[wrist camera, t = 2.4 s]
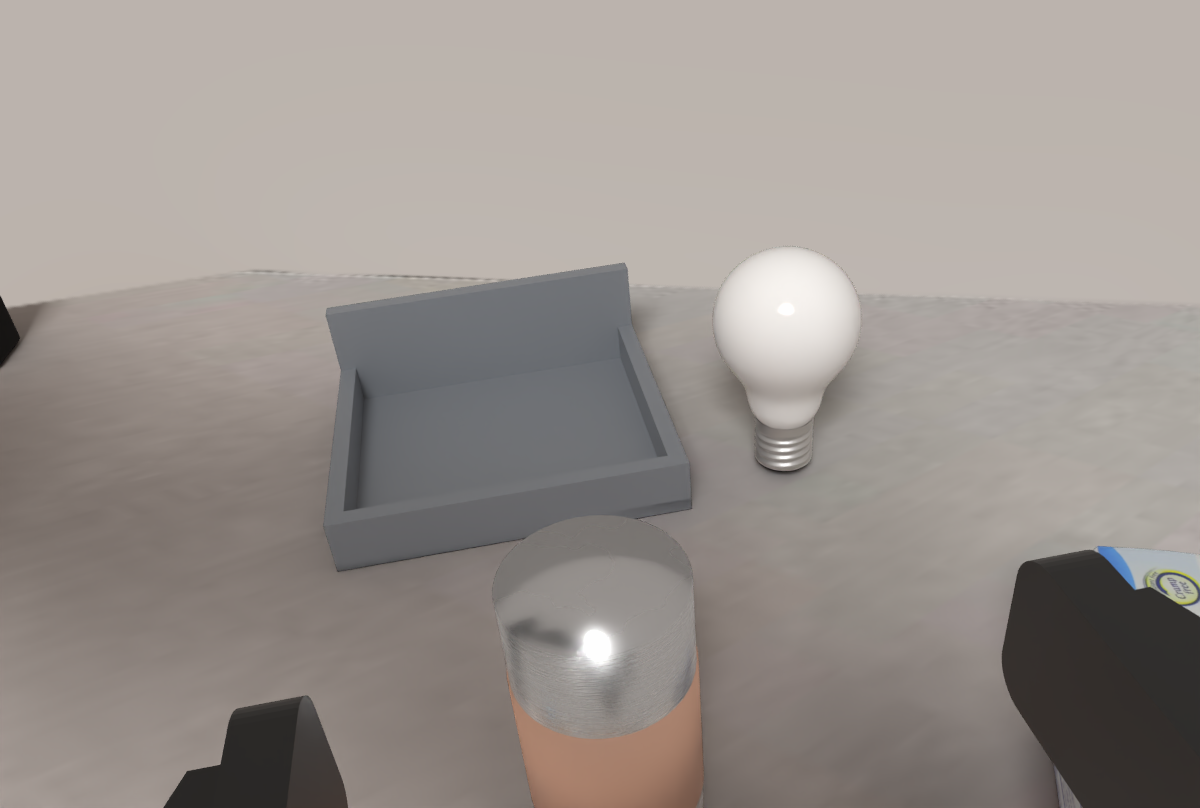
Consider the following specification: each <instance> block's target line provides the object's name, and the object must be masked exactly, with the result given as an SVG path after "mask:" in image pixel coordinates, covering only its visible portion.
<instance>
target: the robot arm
mask: <svg viewBox="0 0 1200 808" xmlns="http://www.w3.org/2000/svg"><path fill="white" fill-rule="evenodd" d="M1002 668H1003V673H1004V678H1005V682H1006V685H1007V688H1008V691H1009V693H1010V696H1011V698H1012V700H1013V702H1014V704H1015V706H1016V707H1017V709H1018V711H1019V712H1020V714H1021V715H1022V717H1023V718H1024V720H1025V721H1026V723H1027V724H1028V726H1029V727H1030V729H1031V730H1032V732H1033V733H1034V735H1035V736H1036V738H1037V739H1038V741H1039V742H1040V744H1041V746H1042V747H1043V749H1044V750H1045V752H1046V753H1047V755H1048V756H1049V758H1050V759H1051V761H1052V762H1053V764H1054V765H1055V767H1056V768H1057V770H1058V771H1059V773H1060V774H1061V776H1062V777H1063V779H1064V780H1065V782H1066V783H1067V785H1068V786H1069V788H1070V789H1071V791H1072V792H1073V794H1074V795H1075V797H1076V798H1077V800H1078V801H1079V803H1080V804H1081V806H1082V807H1083V808H1200V617H1199V616H1198V615H1196V614H1195V613H1193V612H1191V611H1190V610H1188V609H1186V608H1185V607H1183V606H1181V605H1180V604H1178V603H1177V602H1175V601H1173V600H1172V599H1170V598H1168V597H1167V596H1165V595H1163V594H1162V593H1160V592H1158V591H1157V590H1155V589H1153V588H1152V587H1146V588H1141V589H1136V590H1134V589H1133V587H1132V586H1131V585H1130V584H1129V583H1128V582H1127V581H1126V580H1125V579H1124V577H1123V576H1122V575H1121V574H1120V573H1119V572H1118V571H1117V570H1116V569H1115V568H1114V566H1113V565H1112V564H1111V563H1110V562H1109V561H1108V560H1107V559H1106V558H1105V557H1104V556H1102V555H1101V554H1100V553H1098V552H1096V551H1093V550H1084V551H1079V552H1074V553H1068V554H1063V555H1058V556H1052V557H1047V558H1042V559H1037V560H1031V561H1027V562H1025V563H1023V564H1022V565H1021V566H1020V568H1019V570H1018V574H1017V578H1016V583H1015V588H1014V594H1013V599H1012V604H1011V609H1010V614H1009V619H1008V624H1007V630H1006V635H1005V640H1004V645H1003V650H1002ZM164 808H348V804H347V797H346V792H345V788H344V784H343V781H342V778H341V775H340V773H339V770H338V767H337V765H336V762H335V759H334V757H333V754H332V752H331V749H330V746H329V744H328V741H327V738H326V736H325V733H324V730H323V728H322V725H321V722H320V720H319V717H318V715H317V712H316V709H315V707H314V704H313V702H312V701H311V699H310V698H309V697H308V696H301V697H296V698H291V699H285V700H280V701H275V702H269V703H264V704H259V705H254V706H248V707H243V708H238V709H236V710H235V711H234V712H233V713H232V715H231V718H230V720H229V724H228V729H227V734H226V739H225V744H224V749H223V755H222V760H221V765H217V766H212V767H207V768H201V769H196V770H191V771H187V772H186V774H185V775H184V777H183V778H182V780H181V781H180V783H179V784H178V786H177V788H176V789H175V791H174V792H173V794H172V795H171V797H170V798H169V800H168V801H167V803H166V804H165V806H164Z"/></svg>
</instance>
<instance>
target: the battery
mask: <svg viewBox="0 0 1200 808" xmlns="http://www.w3.org/2000/svg"><path fill="white" fill-rule="evenodd" d="M19 339H20V337H19V334H18V332H17V330H16V328H15V326H14V323H13V321H12V319H11V317H10V315H9V313H8V311H7V309H6V307H5V305H4V303H3V300H2V298H1V297H0V364H1V362H2V361H3V360H4V359H5V357H6V356H7V355H8V354H9V352H10V351H11V350H12V349H13V347H14V346H15V345H16V344H17V342H18V341H19Z"/></svg>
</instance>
